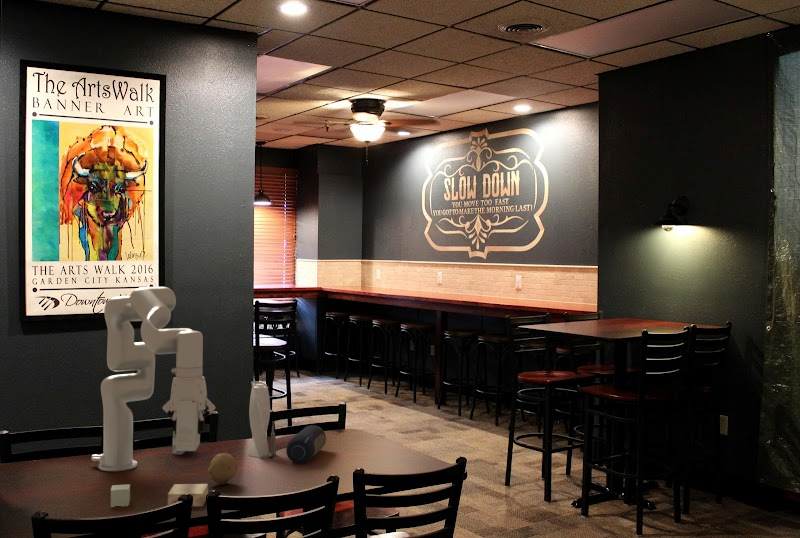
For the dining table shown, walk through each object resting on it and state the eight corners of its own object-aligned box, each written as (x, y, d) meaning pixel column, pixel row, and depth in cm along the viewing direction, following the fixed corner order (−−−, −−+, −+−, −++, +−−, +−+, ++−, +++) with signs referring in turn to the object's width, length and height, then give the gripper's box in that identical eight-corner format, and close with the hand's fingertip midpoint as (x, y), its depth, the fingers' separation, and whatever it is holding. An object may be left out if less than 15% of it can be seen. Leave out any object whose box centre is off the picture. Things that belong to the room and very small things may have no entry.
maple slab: (167, 508, 228) (167, 494, 228) (174, 497, 238) (174, 484, 238) (202, 507, 229) (202, 493, 229) (207, 496, 239) (207, 483, 239)
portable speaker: (311, 467, 273) (311, 438, 273) (283, 465, 275) (283, 437, 275) (328, 449, 298) (328, 423, 298) (302, 448, 300) (302, 422, 299)
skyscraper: (260, 460, 282) (261, 382, 282) (243, 457, 286) (244, 380, 286) (276, 455, 289) (277, 379, 289) (259, 452, 293) (260, 377, 293)
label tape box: (179, 448, 296) (179, 416, 296) (190, 448, 296) (190, 416, 296) (171, 454, 288) (172, 421, 287) (182, 454, 287) (183, 421, 287)
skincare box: (180, 444, 237) (181, 395, 237) (201, 444, 238) (201, 395, 237) (175, 451, 229) (175, 400, 228) (196, 451, 229) (196, 400, 229)
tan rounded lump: (243, 485, 250) (243, 453, 250) (218, 490, 244) (219, 458, 244) (227, 478, 257) (228, 448, 257) (203, 484, 251) (203, 453, 251)
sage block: (110, 507, 227) (110, 490, 227) (112, 502, 232) (112, 485, 232) (128, 506, 228) (129, 489, 228) (129, 500, 233) (130, 484, 233)
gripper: (156, 374, 229) (155, 435, 229) (216, 374, 229) (215, 436, 230) (163, 370, 236) (163, 430, 237) (221, 371, 237) (220, 430, 237)
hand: (188, 432), depth 233 cm, fingers closed on skincare box, 6 cm apart
